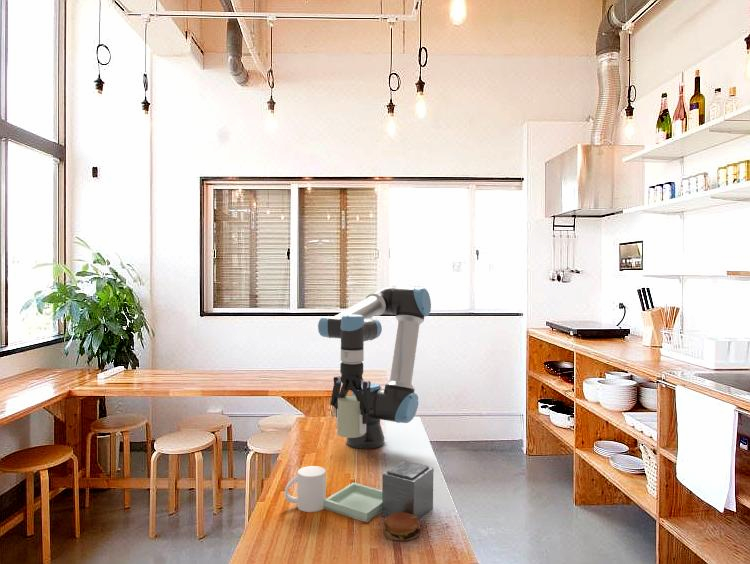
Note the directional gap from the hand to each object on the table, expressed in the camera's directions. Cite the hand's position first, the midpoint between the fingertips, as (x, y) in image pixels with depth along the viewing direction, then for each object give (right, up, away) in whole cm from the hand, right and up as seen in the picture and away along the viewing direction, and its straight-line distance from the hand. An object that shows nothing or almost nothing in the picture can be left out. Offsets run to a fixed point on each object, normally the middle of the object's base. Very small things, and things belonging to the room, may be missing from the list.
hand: (351, 430), depth 170 cm
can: (0, -1, 0) cm, 1 cm away
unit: (+17, -17, -22) cm, 33 cm away
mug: (-13, -17, -18) cm, 28 cm away
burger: (+15, -18, -34) cm, 41 cm away
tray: (+3, -17, -18) cm, 25 cm away
